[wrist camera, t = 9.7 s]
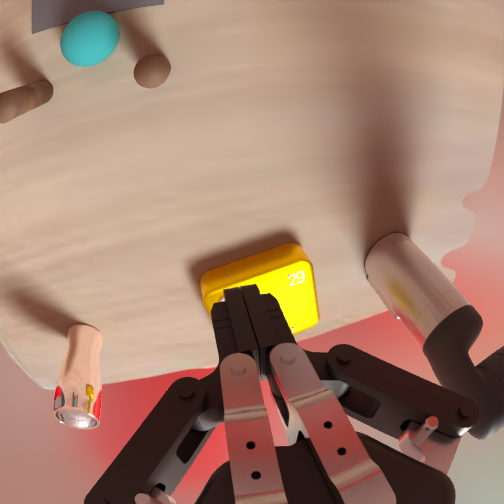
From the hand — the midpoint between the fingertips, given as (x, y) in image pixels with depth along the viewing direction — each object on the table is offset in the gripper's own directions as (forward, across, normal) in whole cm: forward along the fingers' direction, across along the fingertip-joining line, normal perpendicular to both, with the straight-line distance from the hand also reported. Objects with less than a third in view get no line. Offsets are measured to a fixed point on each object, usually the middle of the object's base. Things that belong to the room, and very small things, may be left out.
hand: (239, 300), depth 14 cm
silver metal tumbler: (+24, +22, +25) cm, 41 cm away
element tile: (+24, -6, +22) cm, 33 cm away
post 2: (+23, +3, -10) cm, 25 cm away
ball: (+20, +9, -15) cm, 26 cm away
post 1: (+22, +16, -11) cm, 30 cm away
